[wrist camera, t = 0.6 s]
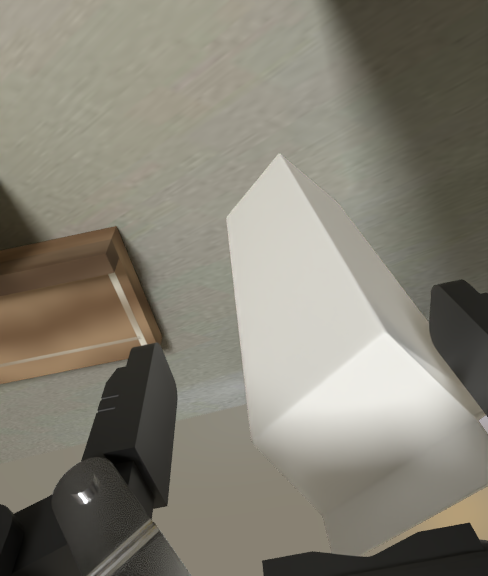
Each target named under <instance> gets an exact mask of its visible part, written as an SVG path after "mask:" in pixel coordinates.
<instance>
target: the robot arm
mask: <svg viewBox="0 0 488 576" xmlns="http://www.w3.org/2000/svg"><path fill="white" fill-rule="evenodd" d="M429 332H430V337H431V340H432V343H433V345H434V347H435V348H436V350H437V351H438V353H439V354H440V355H441V356H442V358H443V359H444V360H445V362H446V363H447V364H448V366H449V367H450V368H451V370H452V371H453V372H454V373H455V375H456V376H457V377H458V379H459V380H460V381H461V383H462V384H463V385H464V387H465V388H466V389H467V391H468V392H469V393H470V394H471V396H472V397H473V398H474V400H475V401H476V402H477V404H478V405H479V406H480V408H481V409H482V410H483V411H484V413H485V414H486V415H487V417H488V293H483V294H480V293H478V292H477V291H476V290H475V289H474V288H473V287H472V286H471V285H469V284H468V283H467V282H466V281H464V280H457V281H452V282H447V283H443V284H438V285H434V286H433V288H432V290H431V304H430V322H429ZM101 398H102V400H101V401H100V404H99V407H98V413H96V416H95V419H94V423H93V426H92V429H91V432H90V435H89V438H88V442H87V445H86V448H85V451H84V454H83V457H82V460H81V462H79V463H78V464H76V465H75V466H73V467H72V468H71V469H70V470H68V471H67V472H66V473H65V474H64V475H63V477H62V478H61V479H60V480H59V482H58V483H57V485H56V487H55V489H54V491H53V494H52V495H50V496H49V497H47V498H45V499H43V500H41V501H39V502H37V503H35V504H33V505H31V506H29V507H27V508H25V509H23V510H21V511H19V512H17V513H15V514H13V513H12V512H11V511H10V510H9V508H8V507H6V506H4V505H1V504H0V576H191V574H190V573H189V572H188V570H187V569H186V567H185V566H184V564H183V563H182V562H181V560H180V558H179V557H178V556H177V554H176V553H175V551H174V550H173V548H172V547H171V546H170V544H169V543H168V541H167V540H166V538H165V537H164V535H163V534H162V533H161V531H160V530H159V528H158V527H157V526H156V524H155V523H154V522H152V512H153V509H155V508H160V507H165V506H167V504H168V493H169V483H170V472H171V462H172V451H173V440H174V430H175V420H176V409H177V388H176V384H175V380H174V377H173V375H172V373H171V370H170V368H169V365H168V363H167V360H166V358H165V355H164V353H163V350H162V348H161V346H160V344H159V343H157V342H156V343H152V344H147V345H142V346H137V347H133V348H132V349H131V351H130V354H129V358H128V362H127V365H126V367H121V368H117V369H116V371H115V372H114V373H113V374H112V376H111V377H110V378H109V380H108V381H107V382H106V385H105V388H104V391H103V394H102V397H101ZM262 563H263V572H264V576H488V541H487V540H479V538H478V537H477V535H476V533H475V531H474V529H473V528H472V526H471V524H470V523H465V524H459V525H454V526H449V527H443V528H437V529H432V530H427V531H421V532H417V533H415V534H413V535H412V536H410V537H408V538H406V539H404V540H402V541H400V542H398V543H396V544H395V545H393V546H391V547H389V548H387V549H385V550H384V551H381V552H380V553H378V554H376V555H373V556H370V557H360V556H350V555H341V554H332V553H321V552H307V553H302V554H296V555H290V556H285V557H280V558H274V559H269V560H263V561H262Z"/></svg>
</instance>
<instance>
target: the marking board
mask: <svg viewBox="0 0 488 576" xmlns="http://www.w3.org/2000/svg"><path fill="white" fill-rule="evenodd" d="M161 341H162V335H161V333H160V330H159V328H158V325H157V323H156V320H155V318H154V316H153V313H152V311H151V308H150V306H149V304H148V301H147V299H146V296H145V294H144V291H143V289H142V287H141V284H140V282H139V279H138V277H137V275H136V272H135V270H134V267H133V265H132V262H131V260H130V258H129V255H128V253H127V250H126V248H125V246H124V243H123V241H122V238H121V236H120V233H119V231H118V229H117V226H115V227H110V228H105V229H101V230H96V231H91V232H86V233H82V234H77V235H72V236H67V237H63V238H58V239H53V240H48V241H44V242H39V243H34V244H29V245H25V246H20V247H15V248H10V249H6V250H1V251H0V384H3V383H8V382H13V381H18V380H23V379H28V378H33V377H38V376H43V375H48V374H53V373H58V372H63V371H68V370H73V369H78V368H83V367H88V366H93V365H98V364H103V363H108V362H113V361H118V360H123V359H128V358H129V354H130V351H131V349H132V348H133V347H137V346H142V345H147V344H152V343H156V342H157V343H159V344H160V346H161Z"/></svg>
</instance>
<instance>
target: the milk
mask: <svg viewBox="0 0 488 576" xmlns="http://www.w3.org/2000/svg"><path fill="white" fill-rule="evenodd" d="M226 220H227V229H228V238H229V247H230V256H231V265H232V274H233V283H234V292H235V301H236V310H237V319H238V328H239V337H240V346H241V355H242V364H243V372H244V381H245V390H246V399H247V408H248V417H249V426H250V434H251V441H252V443H253V445H254V446H255V447H256V448H257V449H258V450H259V451H260V452H261V453H262V454H263V455H264V456H265V457H266V458H267V460H269V462H270V463H271V464H272V465H273V466H274V467H275V468H276V469H277V470H278V471H279V472H280V473H281V474H282V475H283V476H284V477H285V478H286V479H287V480H288V481H289V482H290V483H291V484H292V485H293V486H294V487H295V488H296V489H297V490H298V491H299V492H300V493H301V495H302V496H303V497H305V499H306V500H307V501H308V502H309V503H310V504H311V505H312V506H313V507H314V508H315V509H316V510H317V511H318V512H319V513H320V514H321V515H322V517H323V520H324V525H325V528H326V533H327V537H328V541H329V545H330V549H331V553H332V554H341V555H350V556H362V555H364V554H365V553H367V552H369V551H371V550H373V549H375V548H376V547H378V546H380V545H382V544H384V543H385V542H387V541H389V540H391V539H393V538H394V537H396V536H398V535H400V534H402V533H404V532H405V531H407V530H409V529H411V528H413V527H414V526H416V525H418V524H420V523H422V522H423V521H425V520H427V519H429V518H431V517H433V516H434V515H436V514H438V513H440V512H442V511H443V510H445V509H447V508H449V507H451V506H453V505H454V504H456V503H458V502H460V501H462V500H464V499H465V498H467V497H469V496H471V495H473V494H474V493H476V492H478V491H480V490H482V489H484V488H485V487H487V486H488V434H487V432H486V431H485V429H484V428H483V426H482V425H481V424H480V422H479V421H478V420H480V419H481V418H482V417H484V416H485V415H486V414H485V413H484V411H483V410H482V409H481V408H480V406H479V405H478V404H477V402H476V401H475V400H474V398H473V397H472V396H471V394H470V393H469V392H468V391H467V389H466V388H465V387H464V385H463V384H462V383H461V381H460V380H459V379H458V377H457V376H456V375H455V373H454V372H453V371H452V370H451V368H450V367H449V366H448V364H447V363H446V362H445V360H444V359H443V358H442V356H441V355H440V354H439V353H438V351H437V350H436V348H435V347H434V345H433V343H432V340H431V337H430V332H429V322H428V321H427V320H426V318H425V317H424V316H423V314H422V313H421V312H420V310H419V309H418V308H417V306H416V305H415V304H414V302H413V301H412V300H411V298H410V297H409V296H408V294H407V293H406V292H405V290H404V289H403V288H402V287H401V285H400V284H399V283H398V281H397V280H396V279H395V277H394V276H393V275H392V273H391V272H390V271H389V269H388V268H387V267H386V265H385V264H384V263H383V261H382V260H381V259H380V257H379V256H378V255H377V253H376V252H375V251H374V250H373V248H372V247H371V246H370V244H369V243H368V242H367V240H366V239H365V238H364V236H363V235H362V234H361V232H360V231H359V230H358V228H357V227H356V226H355V224H354V223H353V222H352V220H351V219H350V218H349V216H348V215H347V214H346V213H345V211H344V210H343V209H342V207H341V206H340V205H339V203H338V202H337V201H335V200H334V199H333V198H332V197H331V196H330V195H328V194H327V193H326V192H325V191H324V190H323V189H321V188H320V187H319V186H318V185H317V184H316V183H314V182H313V181H312V180H311V179H310V178H309V177H307V176H306V175H305V174H304V173H303V172H301V171H300V170H299V169H298V168H297V167H296V166H294V165H293V164H292V163H291V162H290V161H289V160H287V159H286V158H285V157H284V156H283V155H282V154H280V153H279V154H278V155H277V156H276V157H275V159H274V160H273V161H272V162H271V164H270V165H269V166H268V167H267V168H266V170H265V171H264V172H263V173H262V174H261V176H260V177H259V178H258V179H257V181H256V182H255V183H254V184H253V185H252V187H251V188H250V189H249V190H248V192H247V193H246V194H245V195H244V196H243V198H242V199H241V200H240V201H239V202H238V204H237V205H236V206H235V207H234V209H233V210H232V211H231V212H230V213H229V215H228V216H227V217H226Z"/></svg>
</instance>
